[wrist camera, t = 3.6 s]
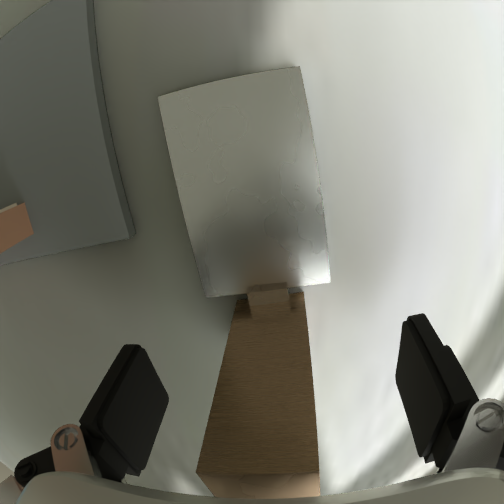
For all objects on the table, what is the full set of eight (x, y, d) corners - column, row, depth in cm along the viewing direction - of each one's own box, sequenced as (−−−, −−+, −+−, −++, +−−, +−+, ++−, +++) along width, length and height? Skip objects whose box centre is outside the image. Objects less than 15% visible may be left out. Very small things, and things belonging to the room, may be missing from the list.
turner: (333, 340, 14) (358, 501, 6) (226, 351, 14) (191, 505, 7) (298, 69, 9) (338, -47, 2) (163, 97, 10) (-9, 79, 3)
